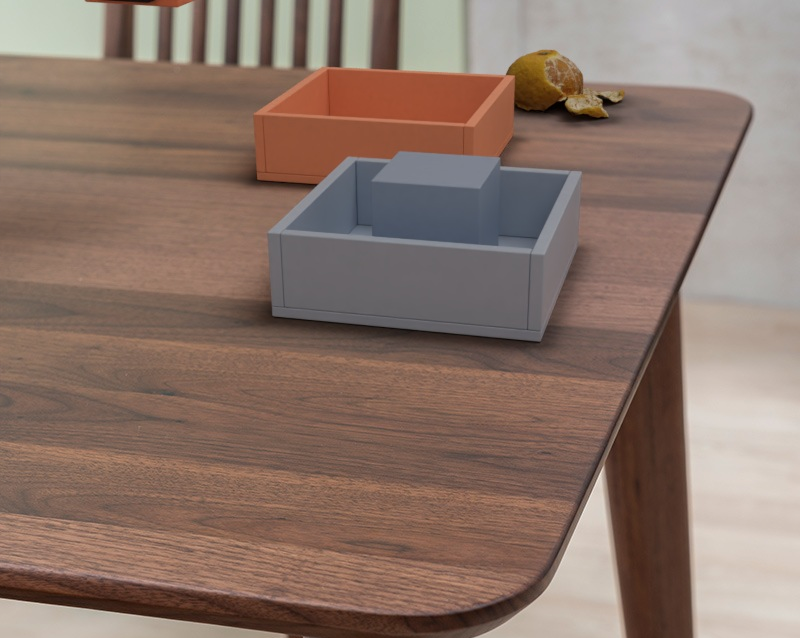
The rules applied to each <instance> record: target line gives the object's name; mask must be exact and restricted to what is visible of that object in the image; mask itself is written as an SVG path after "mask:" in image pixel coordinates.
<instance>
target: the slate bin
mask: <svg viewBox="0 0 800 638" xmlns="http://www.w3.org/2000/svg"><path fill="white" fill-rule="evenodd" d="M390 160H391V159H377V158H361V157H359V158H358V157H347V158H346V159H345V160H344V161H343V162H342V163H341V164H340V165H338V166H337V167H336V168H335V169H334V170H333V171H332V172H331V173H330V174H329V175H328V176H327V177H326V178H325V179H324V180H323V181H321V182H320V183H319V184H316V186H315V187H314V188H313V189H311V191H310V192H309V193H307V194H306V195H305V196H304V197H303V198H302V199H301V200H300V201H299V202H298V203H297V204H296V205H295V206H294V207H293V208H291V210H289V211H288V212H287V213H286V214H284V216H283V217H282V218H281V219H280V220H278V222H277V223H276V224H275V225H273V226H272V227H271V228H270V229H269V230H268V231H267V236H266V237H267V251H268V266H269V283H270V299H271V301H270V302H271V315H272V317H276V318H286V319H296V320H307V321H317V322H327V323H328V322H329V323H339V324H349V325H360V326H370V327H380V328H391V329H400V330H401V329H403V330H413V331H423V332H433V333H445V334H454V335H464V336H474V337H485V338H496V339H507V340H516V341H517V340H518V341H527V342H539V343H540V342H541V341H542V339H543V336H544V334H545V331H546V329H547V326H548V324H549V322H550V319H551V316H552V314H553V311H554V308H555V306H556V304H557V301H558V298H559V296H560V293H561V291H562V289H563V285H564V283H565V281H566V279H567V275H568V273H569V271H570V268H571V266H572V265H571V264H573V263H572V262H573V260H574V258H575V255H576V252H577V251H578V249H579V248H578V247H579V233H580V215H581V198H582V183H583V182H582V180H583V171H581V170H563V169H552V168H551V169H549V168H535V167H534V168H532V167H517V166H515V167H514V166H502V165H500V200H499V238H498V246H490V245H477V244H464V243H451V242H438V241H426V240H413V239H400V238H387V237H374V236H372V205H371V181H372V179H373V178H374V177H375V176H376V175H377V174H378V173H379V172H380V171H381V170H382V169H383V168H384V167H385V166H386V165H387V164H388V163H389V161H390Z"/></svg>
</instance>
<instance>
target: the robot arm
mask: <svg viewBox="0 0 800 638" xmlns="http://www.w3.org/2000/svg"><path fill="white" fill-rule="evenodd" d="M107 1H124V2H140V3H150V2H152V1H155V0H107Z"/></svg>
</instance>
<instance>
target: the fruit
mask: <svg viewBox="0 0 800 638" xmlns="http://www.w3.org/2000/svg"><path fill="white" fill-rule="evenodd" d="M505 75H513V76H515V91H514V104H515V105H516V106H517V107H518V108H520V109H523V110H525V111H526V112H530V110H531V111H532V110H533V111H541V112H545V111H546V110H547V109H548V108H550V107H551V106H552V105H554V104H555V103H557V102H562V101H565V103H564V106H565V109H566V110H567V111H568V112H569V113H570V114H571V115H572V117H574V118H576V116H579V115H582V114H584V115H588V116H590V117H594V118H601V117H604V118H609V117H610V115H609V114H608V112H607V110H606V109H604V108H603V102H604V101H603V99H604V100H608V101H609V100H610V101H611V102H613V103H618V102H619V101H622V100H624V98H625V95H626V91H624V90H623V89H619V90H604V91H596V90H593V89H591V88H589V87H584V75H583V73H582V71H581V70H580V69H579V67H578V66H577V65H576V63H575V62H573V61H572V60H571V59H569V58H568V57H567V56H565V55H562V54H560V53H559V52H558V51H557V50H555V49H539V50H537V51H534V52H530V53H527V54H525V55H522V56H519V57H518V58H517V59H516V60H514V62H512V63H511V64H510V65H509V67H508V68H507V71H506V73H505Z"/></svg>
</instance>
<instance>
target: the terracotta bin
mask: <svg viewBox="0 0 800 638" xmlns="http://www.w3.org/2000/svg"><path fill="white" fill-rule="evenodd" d="M514 91H515V76H513V75H506V74H490V73H489V74H487V73H470V72H469V73H466V72H448V71H447V72H446V71H424V70H403V69H382V68H381V69H379V68H360V67H359V68H358V67H337V66H321V67H319V68H318V69H317V70H315V71H314V72H313V73H311V74H309V75H308V76H307V77H305V78H304V79H302V80H301V81H299V82H298V83H297V84H295V85H294V86H292V87H291V88H289V89H288V90H286V91H284V93H282V94H281V95H279V96H277V97H276V98H275V99H273V100H272V101H271V102H269V103H267V104H266V105H265V106H263V107H262V108H260V109H258V110H257V111H256V112H254V113H253V114H252V116H253V134H254V135H253V136H254V149H255V150H254V151H255V165H256V179H257V181H262V182H263V181H265V182H279V183H280V182H281V183H291V184H293V183H294V184H308V185H310V184H311V185H318V184H319V183H320V182H321V181H323V180H324V179H325V178H326V177H327V176H328V175H329V174H330V173H331V172H332V171H333V170H334V169H335V168H336V167H337V166H338V165H340V164H341V163H342V162H343V161H344V160H345V159H346V158H347V157H358V158H359V157H361V158H377V159H392V158H393V157H394V156H395V155H396V154H397V153H398V152H399V151H405V152H421V153H437V154H453V155H470V156H486V157H500V156H501V154H502V153H503V151H504V150H505V148H506V147H507V146H508V144H509V143H510V141H511V139H512V138H513V136H514V121H515V120H514V119H515V118H514V117H515V103H514Z"/></svg>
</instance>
